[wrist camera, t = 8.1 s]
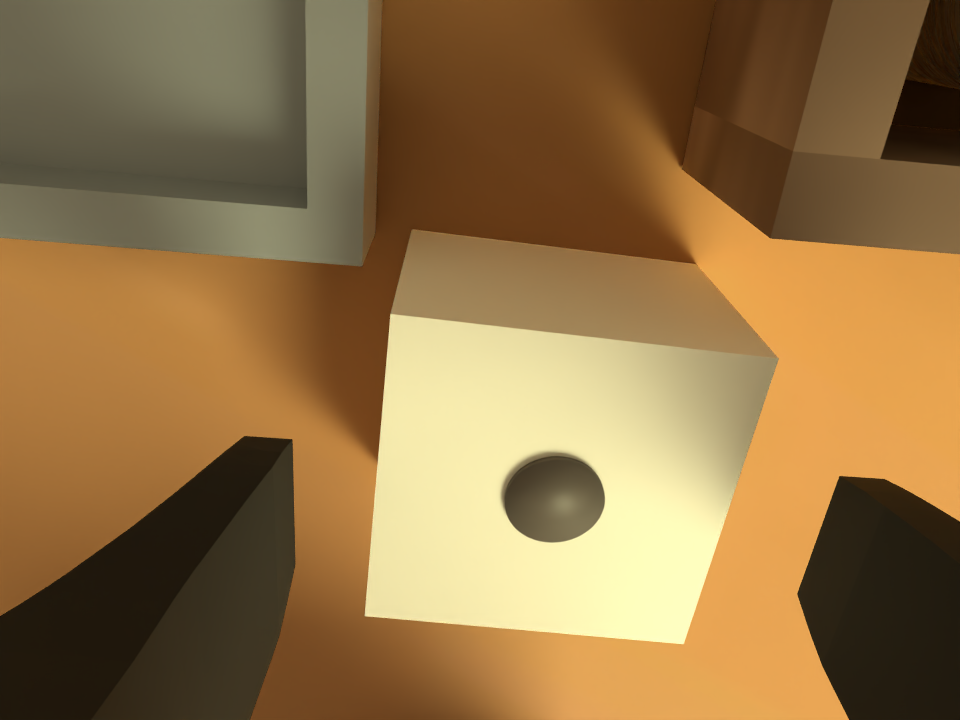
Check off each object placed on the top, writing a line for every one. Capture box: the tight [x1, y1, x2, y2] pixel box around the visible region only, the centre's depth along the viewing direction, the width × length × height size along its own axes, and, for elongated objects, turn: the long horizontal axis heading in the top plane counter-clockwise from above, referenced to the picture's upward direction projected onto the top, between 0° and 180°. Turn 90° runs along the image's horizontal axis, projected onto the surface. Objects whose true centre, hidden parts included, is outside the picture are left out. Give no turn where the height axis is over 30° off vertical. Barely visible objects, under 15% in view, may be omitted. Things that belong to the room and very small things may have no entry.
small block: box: [365, 229, 779, 644], centre depth 12 cm, size 5×5×4 cm
